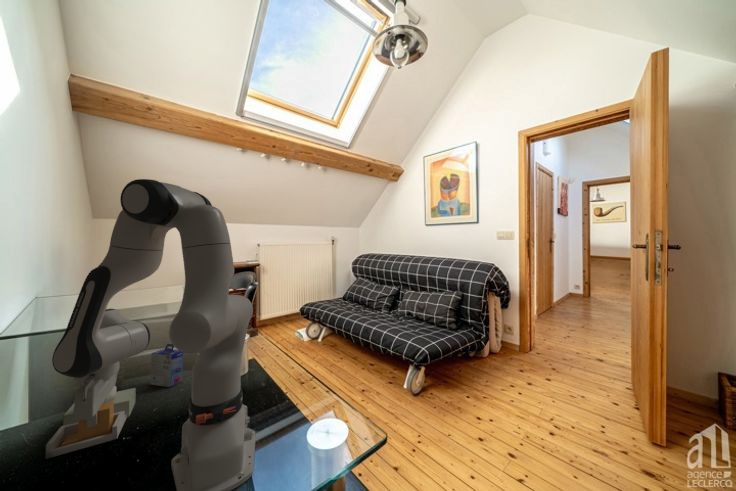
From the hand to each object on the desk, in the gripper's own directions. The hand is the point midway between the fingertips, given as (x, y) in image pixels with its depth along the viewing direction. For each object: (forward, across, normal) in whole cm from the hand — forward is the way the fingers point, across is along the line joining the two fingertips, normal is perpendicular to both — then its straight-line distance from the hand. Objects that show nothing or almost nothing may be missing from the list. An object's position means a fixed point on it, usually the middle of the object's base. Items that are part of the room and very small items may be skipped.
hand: (96, 418), depth 73 cm
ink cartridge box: (+5, +27, -13) cm, 30 cm away
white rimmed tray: (+5, +6, +2) cm, 8 cm away
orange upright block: (+5, 0, +1) cm, 5 cm away
